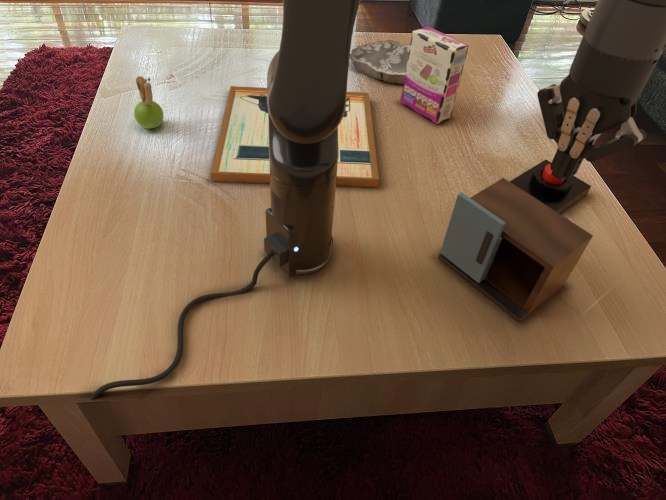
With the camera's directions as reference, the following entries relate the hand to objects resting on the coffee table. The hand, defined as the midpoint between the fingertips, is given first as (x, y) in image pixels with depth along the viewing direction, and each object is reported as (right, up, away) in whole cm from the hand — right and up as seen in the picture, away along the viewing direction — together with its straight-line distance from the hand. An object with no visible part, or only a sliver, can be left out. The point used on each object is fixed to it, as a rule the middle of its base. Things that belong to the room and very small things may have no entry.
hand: (560, 175), depth 65 cm
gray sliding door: (-8, -12, +17) cm, 23 cm away
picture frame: (-35, +14, +41) cm, 56 cm away
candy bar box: (-8, +21, +51) cm, 56 cm away
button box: (+12, +1, +33) cm, 35 cm away
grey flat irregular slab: (-14, +35, +63) cm, 73 cm away
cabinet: (-1, -12, +19) cm, 23 cm away
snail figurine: (-64, +15, +40) cm, 77 cm away
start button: (+12, +4, +31) cm, 33 cm away
